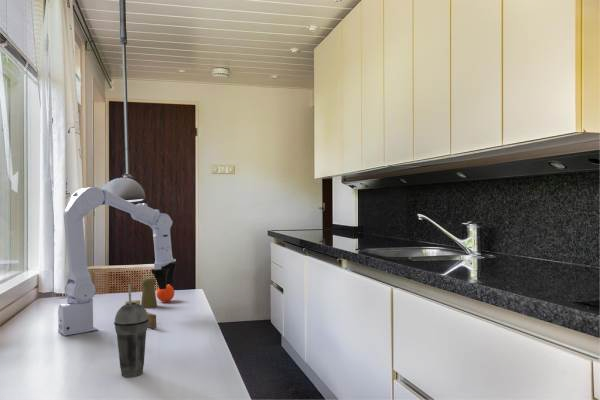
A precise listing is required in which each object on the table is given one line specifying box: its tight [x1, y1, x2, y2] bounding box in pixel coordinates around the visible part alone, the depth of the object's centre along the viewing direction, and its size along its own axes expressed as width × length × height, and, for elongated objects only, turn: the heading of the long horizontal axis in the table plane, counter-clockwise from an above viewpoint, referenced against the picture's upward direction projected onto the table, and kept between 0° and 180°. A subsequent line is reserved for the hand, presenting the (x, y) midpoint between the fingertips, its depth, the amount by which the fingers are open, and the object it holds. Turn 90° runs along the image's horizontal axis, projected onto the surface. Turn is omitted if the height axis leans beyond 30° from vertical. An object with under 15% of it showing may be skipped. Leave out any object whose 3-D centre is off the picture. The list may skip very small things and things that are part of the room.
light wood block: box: [125, 299, 141, 305], centre depth 156 cm, size 2×4×6 cm, turn 108°
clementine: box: [156, 284, 175, 303], centre depth 189 cm, size 8×7×7 cm
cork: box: [140, 276, 158, 309], centre depth 179 cm, size 6×6×11 cm
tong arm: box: [146, 311, 157, 330], centre depth 149 cm, size 14×1×4 cm, turn 43°
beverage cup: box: [113, 283, 149, 378], centre depth 105 cm, size 7×7×20 cm
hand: (166, 286), depth 164 cm, fingers open, 7 cm apart
